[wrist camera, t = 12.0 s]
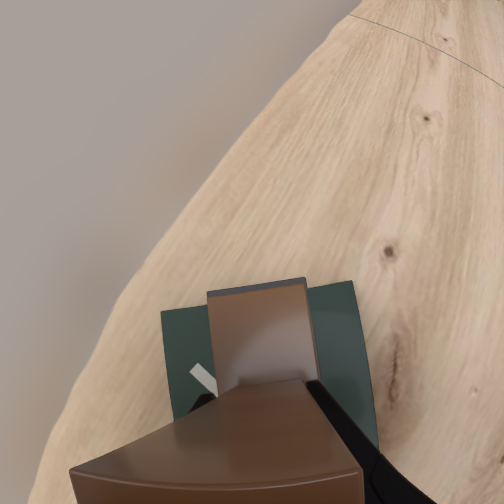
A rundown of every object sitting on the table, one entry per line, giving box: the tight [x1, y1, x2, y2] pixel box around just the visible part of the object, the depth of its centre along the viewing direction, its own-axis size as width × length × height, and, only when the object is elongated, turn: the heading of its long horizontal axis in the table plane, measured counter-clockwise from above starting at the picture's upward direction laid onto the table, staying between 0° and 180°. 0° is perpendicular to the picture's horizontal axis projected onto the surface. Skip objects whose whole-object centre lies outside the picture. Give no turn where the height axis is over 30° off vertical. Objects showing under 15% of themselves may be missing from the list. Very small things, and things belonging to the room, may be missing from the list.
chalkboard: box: [161, 280, 379, 450], centre depth 19 cm, size 20×14×1 cm
